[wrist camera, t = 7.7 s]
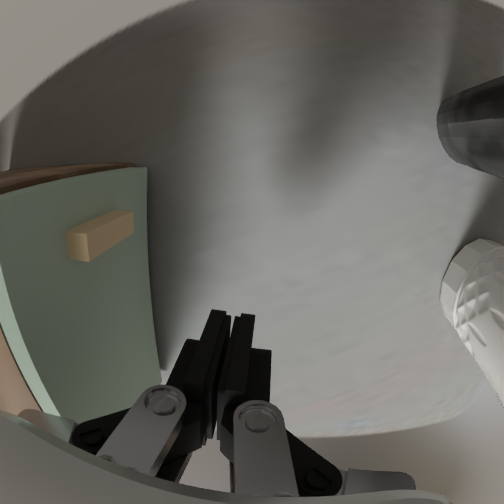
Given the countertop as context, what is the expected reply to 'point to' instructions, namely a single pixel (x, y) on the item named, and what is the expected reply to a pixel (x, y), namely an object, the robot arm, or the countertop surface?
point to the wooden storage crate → (3, 361)
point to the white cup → (478, 306)
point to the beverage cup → (475, 127)
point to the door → (79, 291)
